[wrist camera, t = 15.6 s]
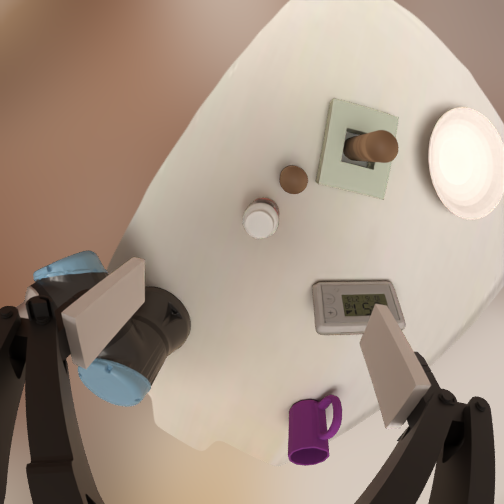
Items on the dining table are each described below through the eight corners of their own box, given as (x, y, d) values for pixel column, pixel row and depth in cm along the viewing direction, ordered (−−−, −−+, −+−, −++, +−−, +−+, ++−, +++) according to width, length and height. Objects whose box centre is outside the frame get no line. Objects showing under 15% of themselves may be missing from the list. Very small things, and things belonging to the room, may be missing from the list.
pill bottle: (285, 210, 48) (286, 222, 39) (266, 234, 50) (262, 251, 41) (260, 190, 48) (255, 198, 38) (241, 214, 49) (231, 228, 40)
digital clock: (395, 280, 50) (416, 307, 40) (380, 320, 53) (395, 351, 43) (317, 265, 51) (324, 291, 41) (305, 308, 54) (308, 340, 44)
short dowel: (278, 186, 47) (277, 191, 40) (282, 163, 46) (282, 163, 39) (301, 191, 47) (304, 196, 40) (306, 168, 45) (310, 169, 39)
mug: (282, 412, 64) (279, 459, 50) (321, 377, 59) (327, 428, 45) (309, 423, 65) (311, 468, 51) (350, 391, 60) (359, 439, 46)
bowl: (496, 140, 38) (515, 140, 32) (473, 226, 44) (491, 235, 38) (425, 92, 38) (441, 86, 32) (399, 190, 45) (414, 194, 39)
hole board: (315, 182, 46) (318, 184, 42) (329, 103, 41) (333, 98, 38) (376, 196, 45) (383, 199, 42) (390, 120, 41) (398, 117, 37)
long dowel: (340, 157, 44) (365, 157, 30) (344, 134, 43) (370, 125, 29) (363, 163, 44) (395, 166, 30) (367, 140, 43) (400, 135, 29)
